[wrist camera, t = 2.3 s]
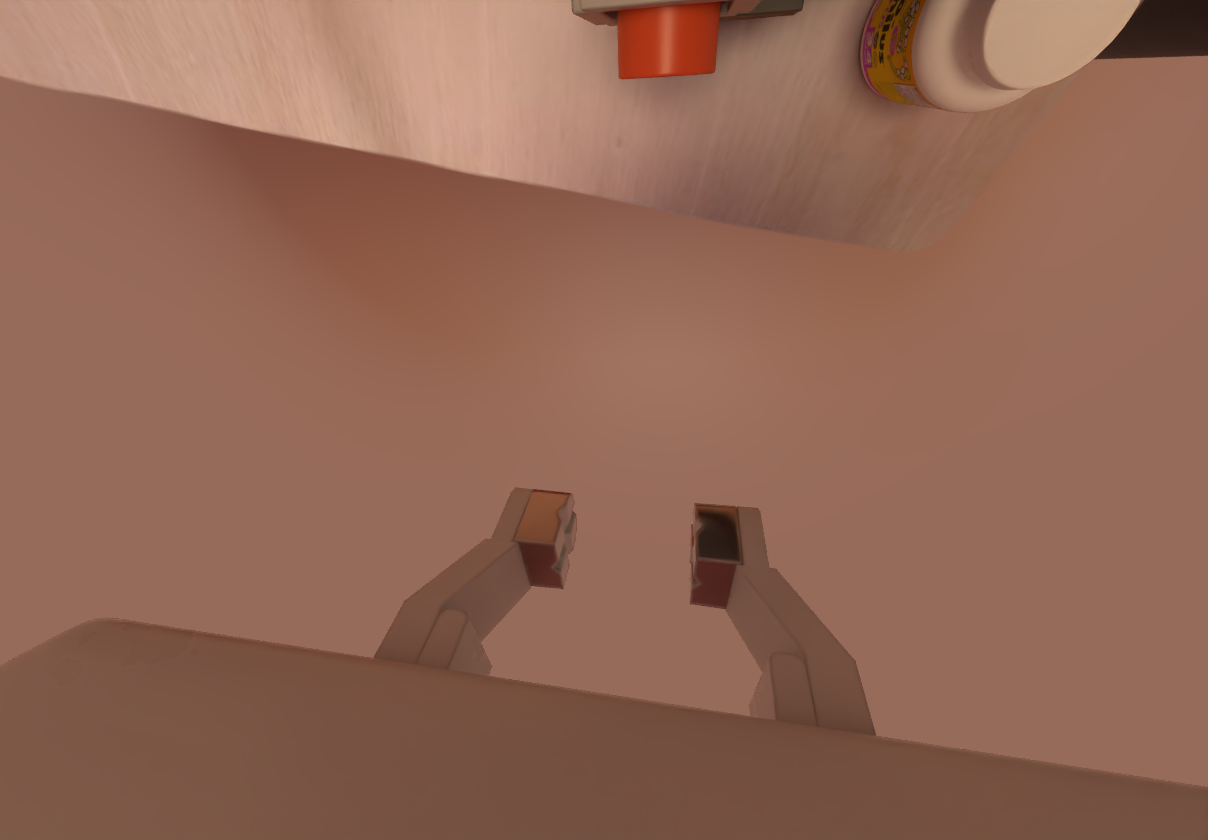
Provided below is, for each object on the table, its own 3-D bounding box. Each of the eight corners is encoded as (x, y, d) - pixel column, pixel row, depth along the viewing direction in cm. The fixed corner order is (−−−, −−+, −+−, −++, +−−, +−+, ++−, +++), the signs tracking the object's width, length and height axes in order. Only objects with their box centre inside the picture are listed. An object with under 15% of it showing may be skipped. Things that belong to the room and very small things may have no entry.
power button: (719, -4, 14) (725, -21, 12) (713, 73, 16) (717, 73, 13) (623, 4, 15) (609, -9, 12) (624, 78, 16) (612, 79, 14)
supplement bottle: (919, -80, 23) (1094, -196, 13) (1021, -17, 24) (1261, -82, 14) (831, 73, 27) (912, 73, 17) (920, 121, 28) (1047, 149, 18)
